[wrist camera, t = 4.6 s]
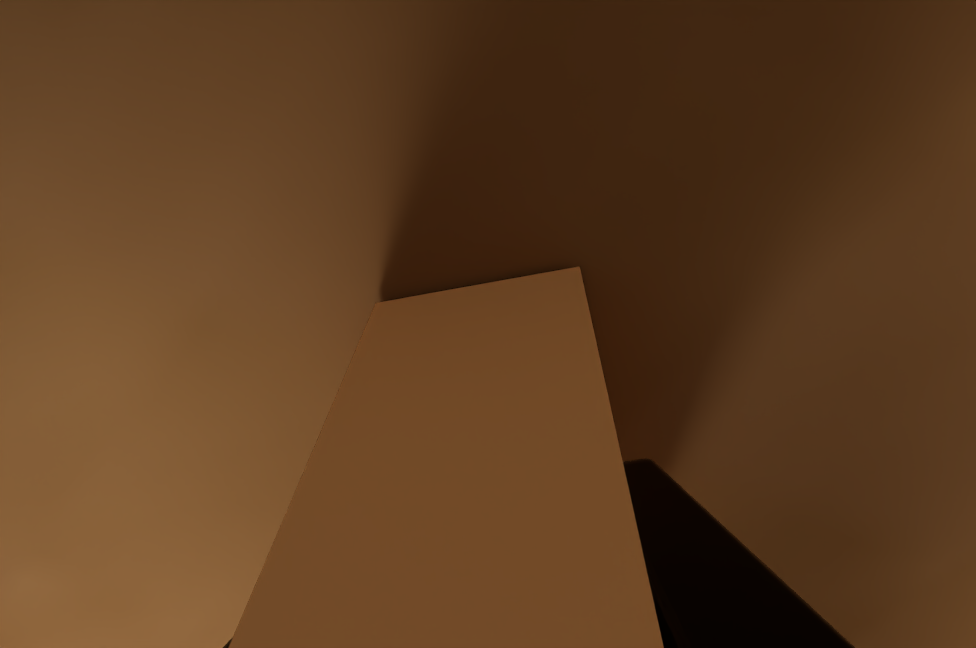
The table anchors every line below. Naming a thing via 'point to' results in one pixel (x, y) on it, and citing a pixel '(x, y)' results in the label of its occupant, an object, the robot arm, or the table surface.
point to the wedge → (463, 488)
